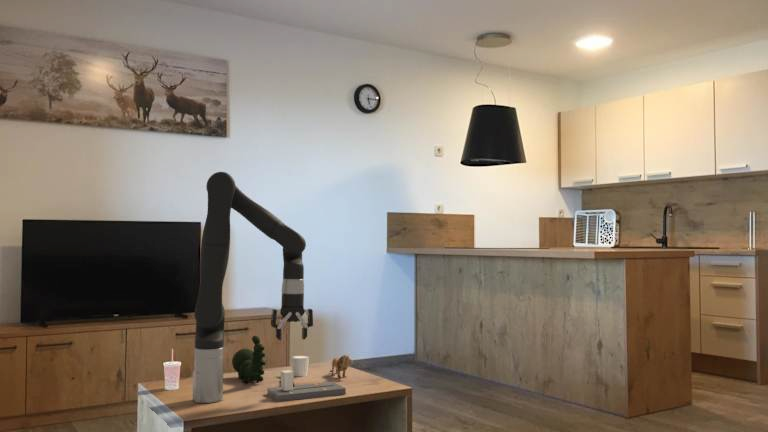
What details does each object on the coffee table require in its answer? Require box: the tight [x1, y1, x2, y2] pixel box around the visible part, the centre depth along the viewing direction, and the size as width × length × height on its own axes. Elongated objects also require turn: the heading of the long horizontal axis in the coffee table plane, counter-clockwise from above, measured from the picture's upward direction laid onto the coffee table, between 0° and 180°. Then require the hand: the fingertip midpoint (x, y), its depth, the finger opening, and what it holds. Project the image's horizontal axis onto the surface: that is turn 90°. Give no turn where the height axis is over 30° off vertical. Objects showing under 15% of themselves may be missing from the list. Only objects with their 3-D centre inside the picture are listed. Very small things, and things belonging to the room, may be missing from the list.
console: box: [266, 381, 347, 403], centre depth 228 cm, size 24×12×2 cm, turn 117°
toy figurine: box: [231, 335, 266, 384], centre depth 250 cm, size 9×19×25 cm
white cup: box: [291, 355, 310, 377], centre depth 261 cm, size 7×7×7 cm
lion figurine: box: [329, 354, 354, 379], centre depth 258 cm, size 15×5×9 cm, turn 34°
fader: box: [280, 369, 294, 391], centre depth 225 cm, size 3×4×8 cm
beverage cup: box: [163, 348, 182, 391], centre depth 236 cm, size 6×6×14 cm
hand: (291, 339), depth 228 cm, fingers open, 8 cm apart
